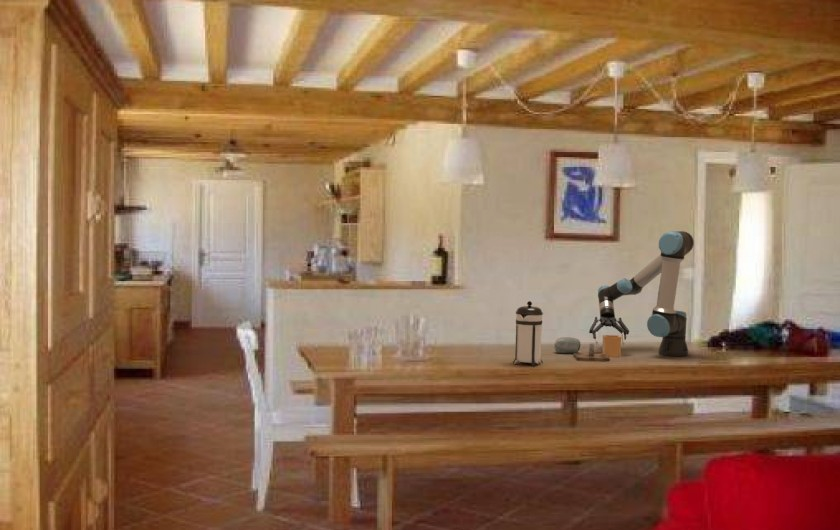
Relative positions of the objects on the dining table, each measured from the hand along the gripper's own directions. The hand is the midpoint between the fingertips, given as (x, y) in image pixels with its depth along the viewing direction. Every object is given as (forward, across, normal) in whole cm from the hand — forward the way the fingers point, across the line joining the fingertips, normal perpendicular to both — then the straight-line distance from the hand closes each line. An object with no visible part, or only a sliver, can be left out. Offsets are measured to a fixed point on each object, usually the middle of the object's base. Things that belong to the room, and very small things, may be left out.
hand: (610, 343), depth 460 cm
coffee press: (+29, +44, +20) cm, 56 cm away
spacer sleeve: (+4, -1, -4) cm, 6 cm away
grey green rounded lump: (+2, +21, -7) cm, 23 cm away
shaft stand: (+14, +11, +5) cm, 18 cm away
